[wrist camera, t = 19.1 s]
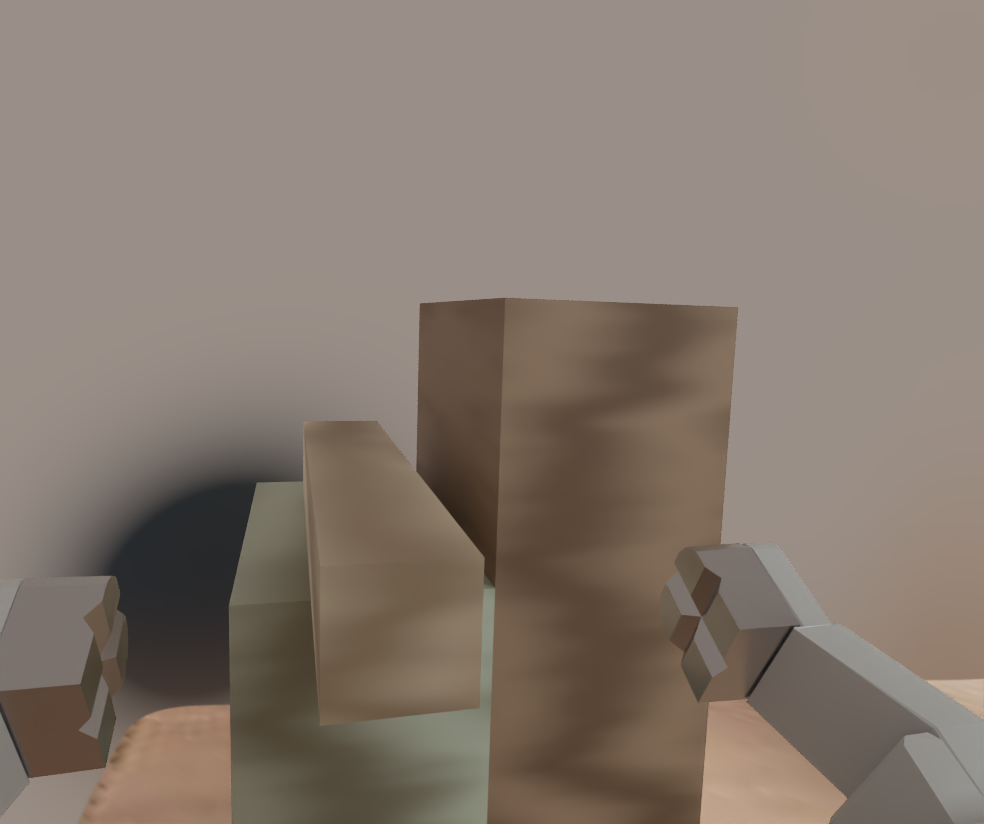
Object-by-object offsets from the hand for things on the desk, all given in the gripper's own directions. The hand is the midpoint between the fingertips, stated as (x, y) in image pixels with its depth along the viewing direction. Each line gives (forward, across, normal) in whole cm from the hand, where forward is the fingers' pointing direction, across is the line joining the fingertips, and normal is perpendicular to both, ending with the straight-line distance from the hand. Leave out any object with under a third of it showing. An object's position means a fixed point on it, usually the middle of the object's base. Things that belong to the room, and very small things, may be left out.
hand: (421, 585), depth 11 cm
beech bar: (+8, 0, +9) cm, 12 cm away
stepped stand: (+3, -4, +26) cm, 27 cm away
